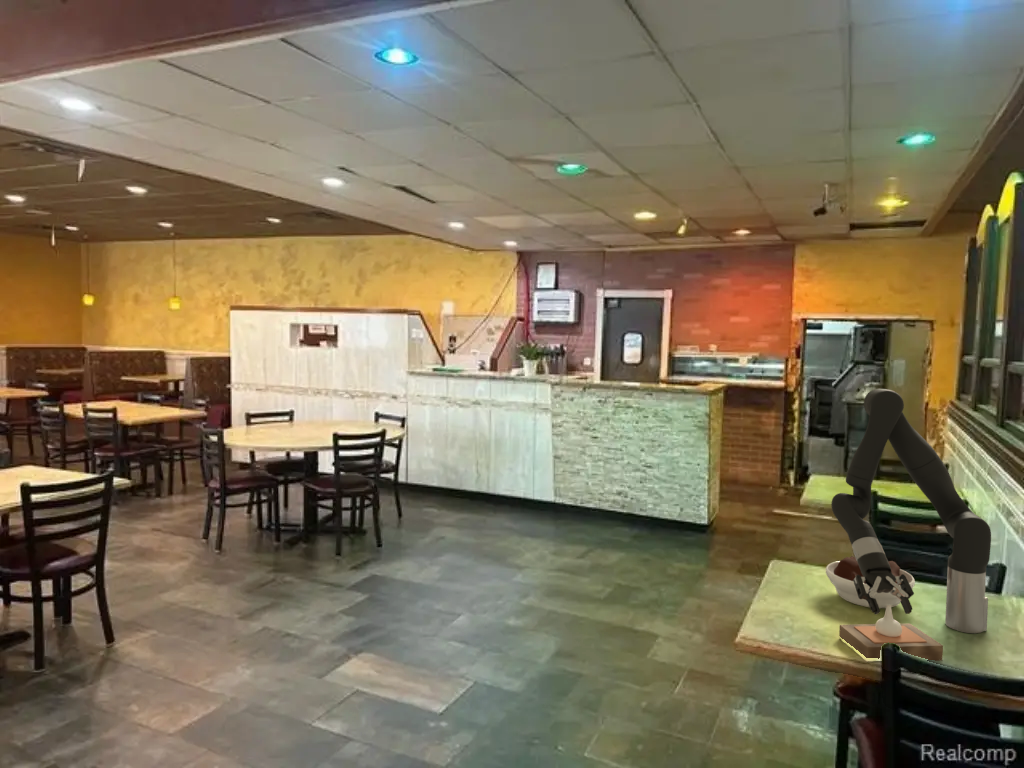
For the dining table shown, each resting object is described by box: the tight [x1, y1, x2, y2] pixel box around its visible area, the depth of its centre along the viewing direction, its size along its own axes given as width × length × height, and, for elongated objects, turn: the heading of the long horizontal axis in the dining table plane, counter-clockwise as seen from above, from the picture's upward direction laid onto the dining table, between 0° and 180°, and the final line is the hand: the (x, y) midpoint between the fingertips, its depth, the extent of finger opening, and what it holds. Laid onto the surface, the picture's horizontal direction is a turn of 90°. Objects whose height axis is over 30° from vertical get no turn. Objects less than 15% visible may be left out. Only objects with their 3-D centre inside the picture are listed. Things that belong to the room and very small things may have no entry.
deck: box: [838, 623, 944, 662], centre depth 186 cm, size 20×14×4 cm
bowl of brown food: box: [825, 555, 916, 609], centre depth 220 cm, size 25×25×15 cm
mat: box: [854, 626, 927, 643], centre depth 186 cm, size 14×10×1 cm
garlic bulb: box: [875, 604, 902, 637], centre depth 187 cm, size 6×6×8 cm
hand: (893, 613), depth 185 cm, fingers open, 8 cm apart
